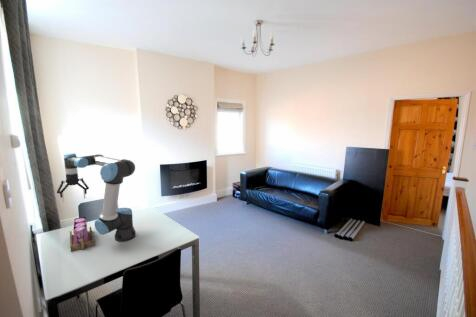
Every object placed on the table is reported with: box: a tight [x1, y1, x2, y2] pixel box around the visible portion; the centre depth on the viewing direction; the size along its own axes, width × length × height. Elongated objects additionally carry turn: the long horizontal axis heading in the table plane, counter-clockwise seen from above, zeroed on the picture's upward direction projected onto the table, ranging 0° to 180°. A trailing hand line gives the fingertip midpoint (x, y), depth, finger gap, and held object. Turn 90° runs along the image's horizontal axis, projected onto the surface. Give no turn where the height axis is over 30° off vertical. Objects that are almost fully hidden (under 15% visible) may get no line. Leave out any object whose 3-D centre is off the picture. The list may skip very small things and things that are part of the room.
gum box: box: [72, 216, 88, 244], centre depth 173 cm, size 24×8×14 cm, turn 33°
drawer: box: [69, 226, 95, 252], centre depth 172 cm, size 14×29×8 cm, turn 36°
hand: (74, 199), depth 179 cm, fingers open, 13 cm apart
